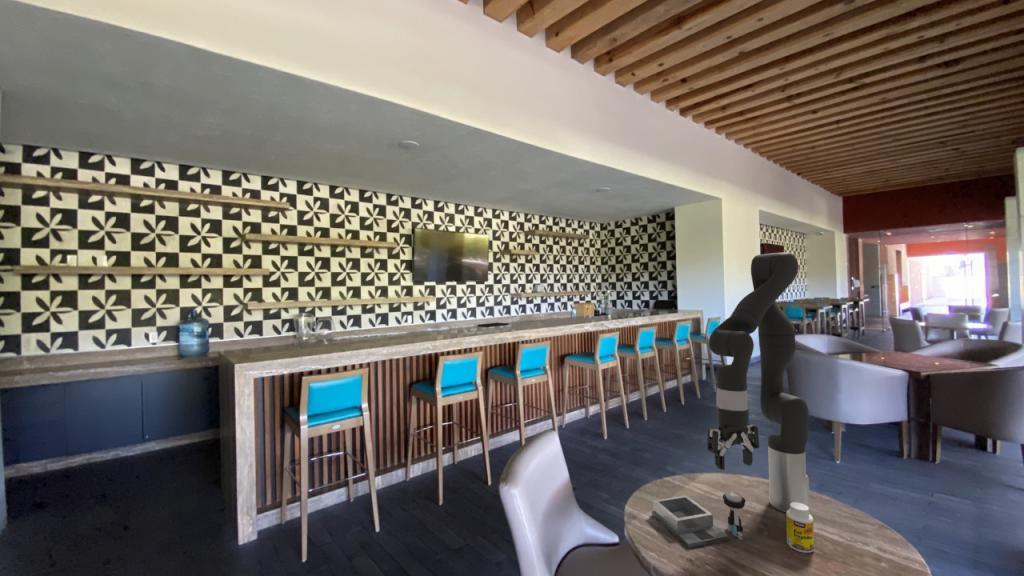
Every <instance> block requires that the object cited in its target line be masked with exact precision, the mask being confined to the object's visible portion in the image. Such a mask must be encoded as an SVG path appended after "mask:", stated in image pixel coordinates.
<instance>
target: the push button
mask: <svg viewBox="0 0 1024 576" xmlns="http://www.w3.org/2000/svg"><path fill="white" fill-rule="evenodd" d="M722 500H723V503H724V505H725V506H727V507H729V516H728V517H727V523H728V524H727V529H728V530H727V531H728V532H729V533H731V534H732V535H733V537H734V538H738V539H739V540H743V538H742V537H743V534H744V527H743V526H742V519H741V518H740V515H739V510H741V509H743V508H744V507H745V505H746V499H745V498H744V497H743V496H742V495H741V493H738V492H736V491H727V492H726V493H725V494H723V495H722Z"/></svg>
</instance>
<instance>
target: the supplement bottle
mask: <svg viewBox="0 0 1024 576" xmlns="http://www.w3.org/2000/svg"><path fill="white" fill-rule="evenodd" d="M785 513H786V519H785V520H786V543H787V544H788V546H789V547H790V548H791V549H793V550H795V551H798V552H800V553H804V554H805V553H806V554H808V553H812V552H814V550H815V540H814V539H815V537H814V535H815V534H814V529H815V528H814V517H813V516H812V515H811V512H810V509H809V507H808V506H806V505H804V504H801V503H797V502H792V503H790V509H789V510H788V511H787V512H785Z"/></svg>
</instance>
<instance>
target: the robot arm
mask: <svg viewBox="0 0 1024 576" xmlns="http://www.w3.org/2000/svg"><path fill="white" fill-rule="evenodd" d="M798 272H799V262H798V259H797V258H796V256H795V255H794V254H793V253H791V252H789V251H788V252H785V251H784V252H773V253H770V252H769V253H763V254H757V255H755V256H754V257H753V258H752V260H751V264H750V275H751V282H752V287H753V290H752V291H751V292H749V293H748V294H746V295H745V296H744V297H743V298H742V299H741V300H740V301H739V302H738V303H737V305H736V306H735V308H734V310H733V311H732V313H731V315H730V316H729V317H728V318H726V319H725V320H723V321H722V322H721V323H720V324H719V325H718V326H717V327H716V328H714V329H713V331H711V332H712V333H711V334H710V336H709V339H708V347H709V350H710V351H711V352H712V353H713V354H714V355H717V356H721V357H730V358H733V359H732V362H731V363H730V364H722V365H720V366H718V367H717V370H716V386H717V388H716V396H715V397H716V399H715V400H716V420H717V422H718V423H717V424H718V428H717V429H713V428H711V427H710V428H708V429H707V444H706V445H707V451H708V452H710V453H711V454H714V464H715V466H716V468H717V469H719V470H720V471H721V470H722V471H723V470H725V465H726V464H725V453H726V451H727V450H729V449H730V448H731V447H732V446H735V445H741V448H742V463H743V464H744V465H746V466H748V467H750V466H752V464H753V452H754V450H756V449H757V450H758V449H759V448H760V440H759V439H760V438H759V428H758V426H757V425H754V424H751V423H750V408H749V407H750V406H749V403H750V402H749V394H748V383H747V382H748V378H747V375H748V371H749V367H750V362H751V358H752V356H753V352H754V347H755V344H754V339H753V338H752V336H751V334H753V333H755V331H756V330H757V332H758V333H757V334H758V335H757V336H758V346H759V347H758V348H759V355H760V396H759V397H760V401H759V403H760V410H761V414H762V415H763V417H764V418H766V419H767V420H768V421H770V422H773V423H776V424H778V425H780V432H779V433H773V434H770V435H769V436H768V437H767V448H768V449H767V452H768V453H767V455H768V456H767V457H768V484H769V485H768V487H769V489H768V490H769V492H768V493H769V504H770V506H772V507H773V508H774V509H776V510H779V511H781V512H783V513H786V512H787V511H788V510H789V509H790V503H792V502H797V503H801V504H804V505H806V506H808V507H809V510H810V505H811V503H810V478H809V476H808V475H807V465H806V463H807V462H806V459H807V458H806V456H807V455H806V446H807V443H808V441H809V423H810V419H809V418H810V417H809V416H810V415H809V408H808V405H807V403H806V401H805V400H804V399H803V398H801V397H798V396H795V395H791V394H788V393H785V389H784V375H785V373H786V370H787V368H788V367H789V365H790V363H791V361H792V360H793V357H794V356H795V353H796V348H797V347H796V345H797V344H796V333H795V326H794V325H793V323H792V322H791V320H790V318H789V317H788V316H787V314H785V312H784V311H783V310H782V309H781V307H780V306H779V304H778V302H777V301H776V300H777V299H778V298H779V297H781V296H782V295H783V293H784V292H785V291H786V289H787V288H789V287H790V285H791V284H792V283H793V282H794V281H795V279H796V278H797V275H798V274H799V273H798ZM723 442H724V443H723Z"/></svg>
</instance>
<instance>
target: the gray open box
mask: <svg viewBox="0 0 1024 576" xmlns="http://www.w3.org/2000/svg"><path fill="white" fill-rule="evenodd" d="M652 505H653V508H652V510H651V516H652V517H653V518H654V519H655V520H657V521H658V522H659V524H660V525H662V526H663V527H664V528H665V529H666V530H668V531H669V533H670V534H672V535H673V537H675V538H676V539H677V540H679V542H681V543H682V544H683V545H684V546H685V548H687V549H690V550H691V549H694V548H699V547H704V546H708V545H714V544H719V543H723V542H729V540H730V536H729V535H728V534H727V533H725V532H724V531H723V530H722V529H720V528H719V527H717V526H716V525H715V524H714V514H713V513H711V512H710V511H709V510H707V509H706V508H705V507H703V506H701V504H699V503H697V502H696V501H695V500H693V499H692V498H691V497H690V496H688V495H679V496H672V497H667V498H659V499H655V500H652Z"/></svg>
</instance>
